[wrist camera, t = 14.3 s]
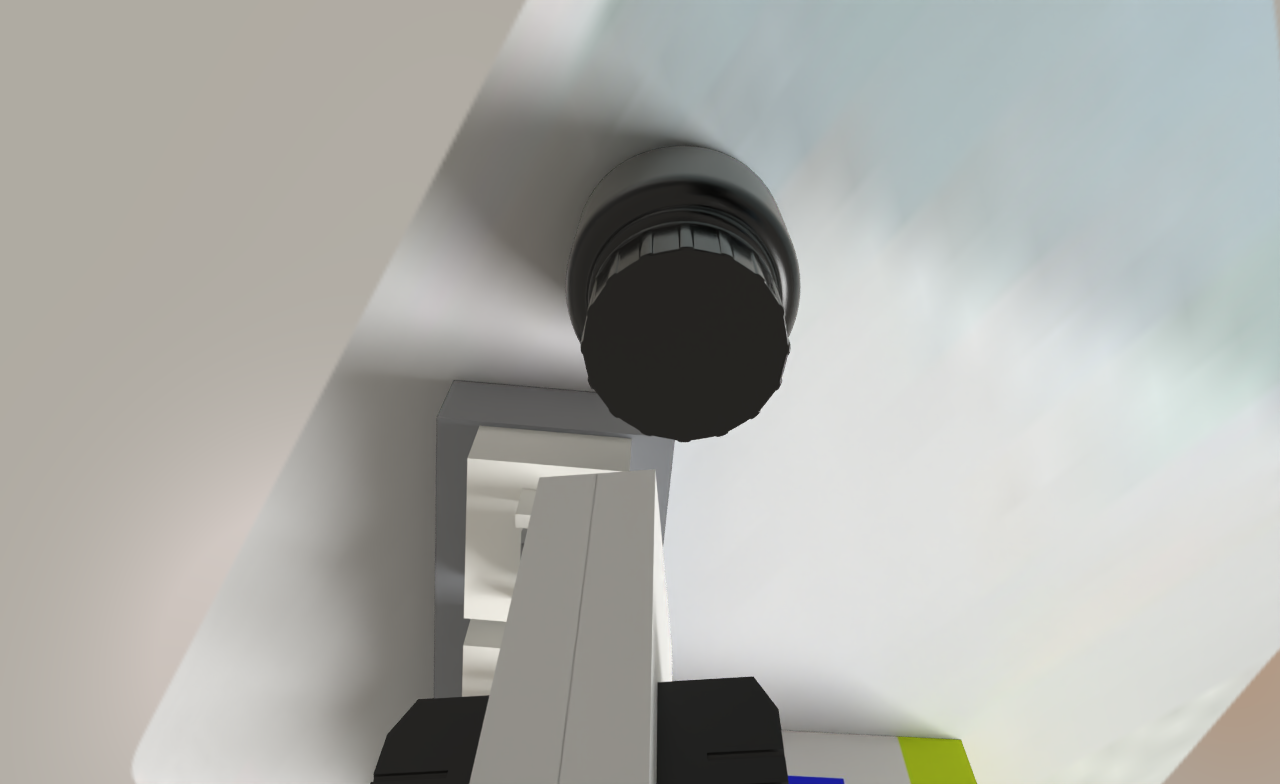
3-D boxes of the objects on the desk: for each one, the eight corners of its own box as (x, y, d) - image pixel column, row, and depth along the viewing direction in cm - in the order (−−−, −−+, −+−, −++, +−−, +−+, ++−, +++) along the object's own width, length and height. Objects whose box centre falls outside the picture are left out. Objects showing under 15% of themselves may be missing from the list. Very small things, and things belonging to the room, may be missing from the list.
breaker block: (677, 399, 49) (683, 643, 32) (630, 829, 59) (617, 1180, 42) (454, 380, 48) (345, 615, 32) (446, 814, 59) (361, 1160, 42)
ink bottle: (580, 352, 48) (555, 479, 37) (554, 154, 44) (517, 230, 33) (799, 333, 47) (839, 457, 36) (789, 131, 44) (832, 200, 33)
